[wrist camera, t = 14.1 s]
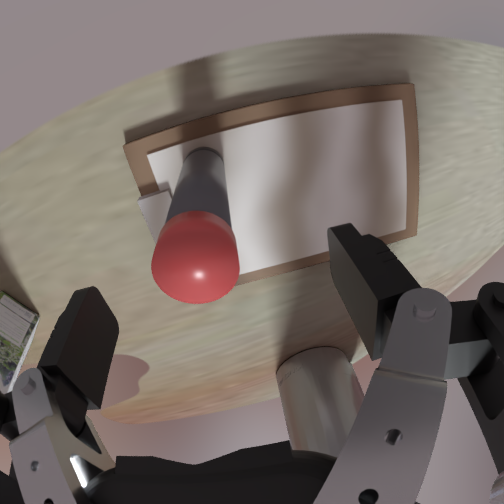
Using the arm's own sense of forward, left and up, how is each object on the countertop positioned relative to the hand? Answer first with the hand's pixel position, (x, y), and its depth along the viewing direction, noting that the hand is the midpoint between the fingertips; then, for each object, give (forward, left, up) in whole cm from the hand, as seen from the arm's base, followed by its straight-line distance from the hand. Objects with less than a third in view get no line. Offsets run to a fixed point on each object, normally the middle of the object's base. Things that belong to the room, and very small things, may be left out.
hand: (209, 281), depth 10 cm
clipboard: (-6, -2, -14) cm, 15 cm away
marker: (0, 0, -13) cm, 13 cm away
